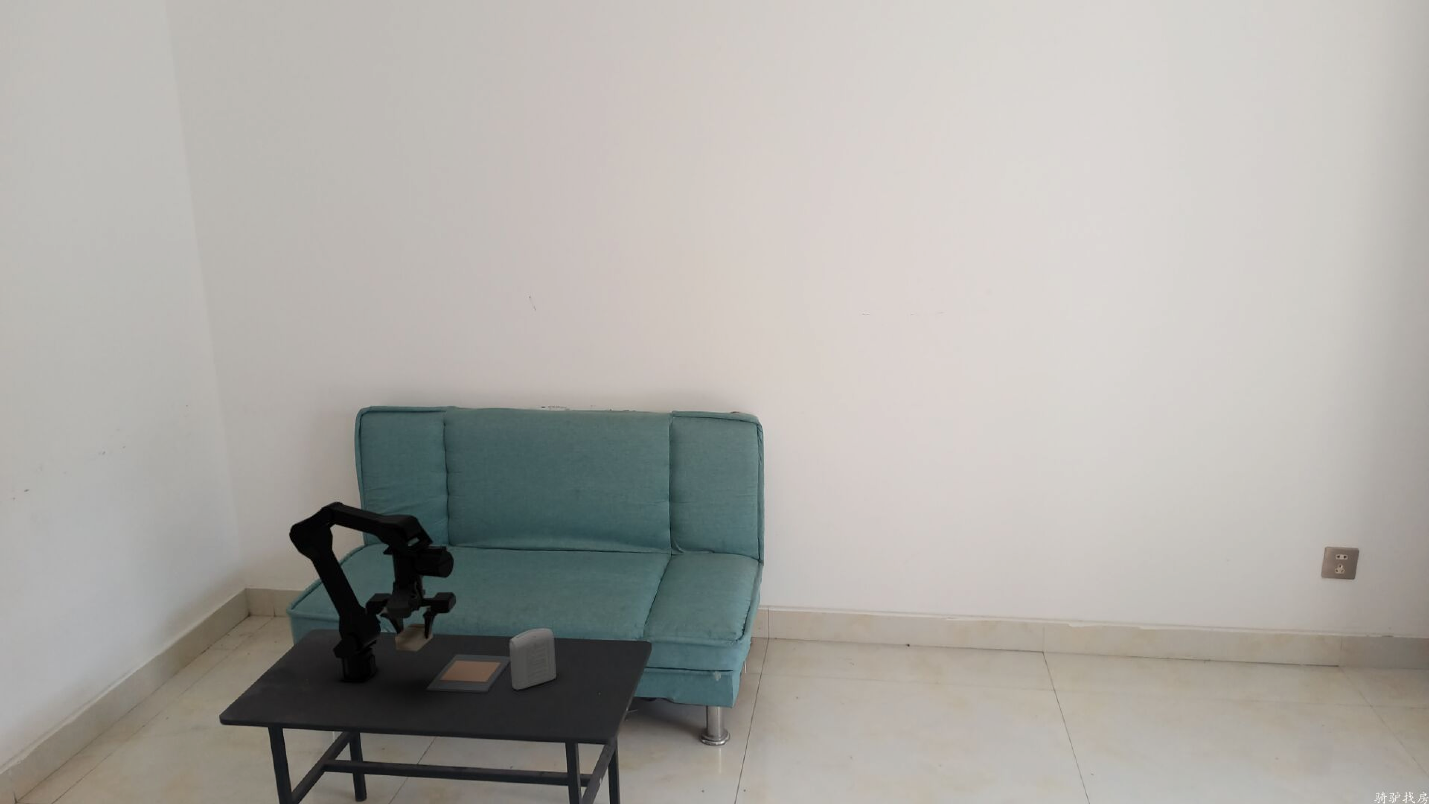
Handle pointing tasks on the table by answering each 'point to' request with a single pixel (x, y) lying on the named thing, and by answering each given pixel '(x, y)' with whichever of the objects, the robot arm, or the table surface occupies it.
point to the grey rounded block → (532, 658)
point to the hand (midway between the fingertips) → (414, 638)
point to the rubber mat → (470, 673)
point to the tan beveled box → (412, 637)
